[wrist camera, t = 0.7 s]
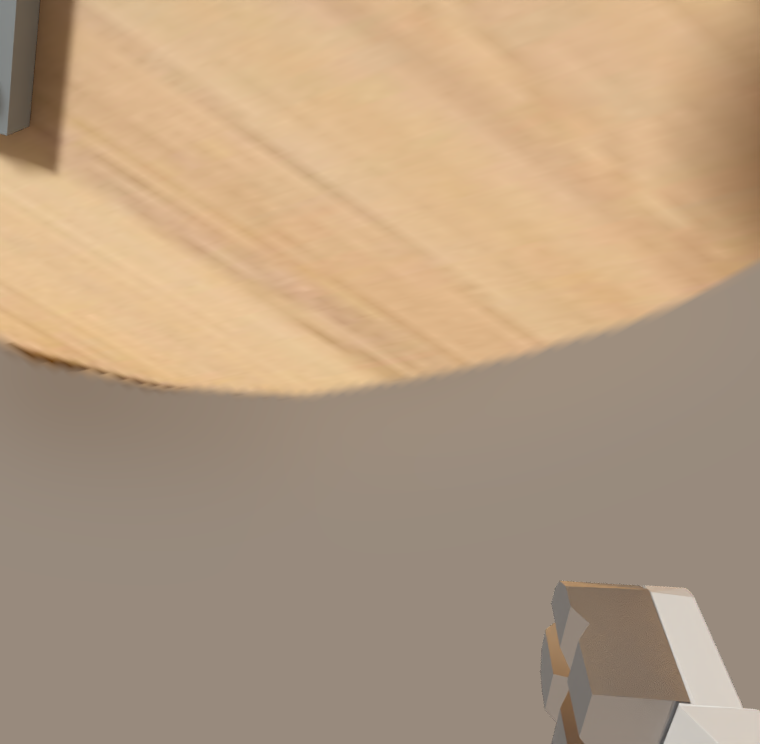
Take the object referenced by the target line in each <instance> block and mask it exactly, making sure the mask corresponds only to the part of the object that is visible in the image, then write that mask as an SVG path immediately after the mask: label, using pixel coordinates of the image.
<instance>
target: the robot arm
mask: <svg viewBox="0 0 760 744" xmlns="http://www.w3.org/2000/svg"><path fill="white" fill-rule="evenodd" d="M551 605H552V610H553V615H554V619H555V623H553V624H552V625H551V626H550V627H548V628H547V629H546V630H545V634H544V639H543V645H542V650H541V670H540V673H541V685H542V695H543V701H544V707H545V710H546V712H547V713H548V714H549V715H550V716H551V717H552V718H553V720H554V721H555V722H556V727H555V731H554V735H553V739H552V743H551V744H760V711H759V710H758V709H749V708H744V707H743V704H742V702H741V700H740V698H739V696H738V693H737V691H736V689H735V687H734V684H733V682H732V680H731V678H730V676H729V674H728V671H727V669H726V667H725V664H724V662H723V660H722V658H721V655H720V653H719V651H718V649H717V647H716V644H715V642H714V640H713V638H712V635H711V633H710V631H709V629H708V627H707V624H706V623H705V620H704V618H703V615H702V613H701V611H700V609H699V607H698V604H697V602H696V600H695V598H694V596H693V594H692V593H691V592H690V591H689V590H688V589H687V588H677V587H661V586H660V587H659V586H642V587H641V586H639V585H624V584H607V583H591V582H574V581H559V582H558V584H557V586H556V588H555V591H554V595H553V599H552V603H551Z"/></svg>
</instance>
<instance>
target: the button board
mask: <svg viewBox="0 0 760 744" xmlns="http://www.w3.org/2000/svg"><path fill="white" fill-rule="evenodd" d="M39 8H40V0H0V134H3V135H6V136H7V135H10V134H12V133H14V132H17V131H19V130H22V129H24V128H26V127H29V125H30V113H31V101H32V90H33V78H34V67H35V55H36V43H37V32H38V20H39Z"/></svg>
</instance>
